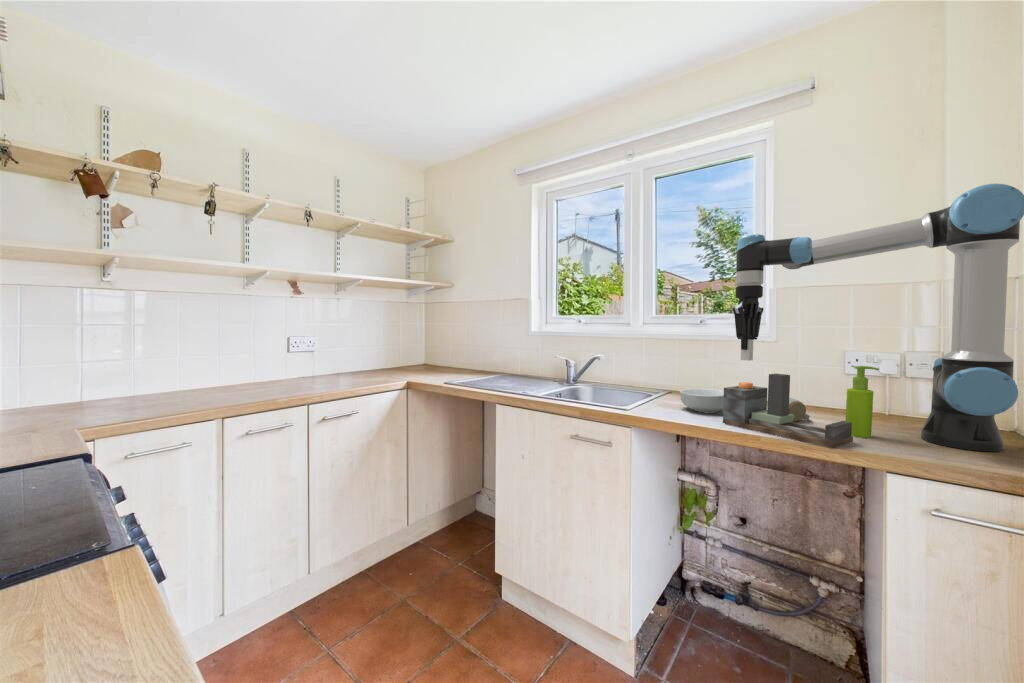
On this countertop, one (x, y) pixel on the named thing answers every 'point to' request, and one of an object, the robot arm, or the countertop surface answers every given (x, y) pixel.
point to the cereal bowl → (703, 399)
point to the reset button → (745, 385)
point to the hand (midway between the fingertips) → (746, 360)
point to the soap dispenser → (860, 404)
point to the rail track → (747, 401)
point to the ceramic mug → (797, 409)
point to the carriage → (776, 401)
